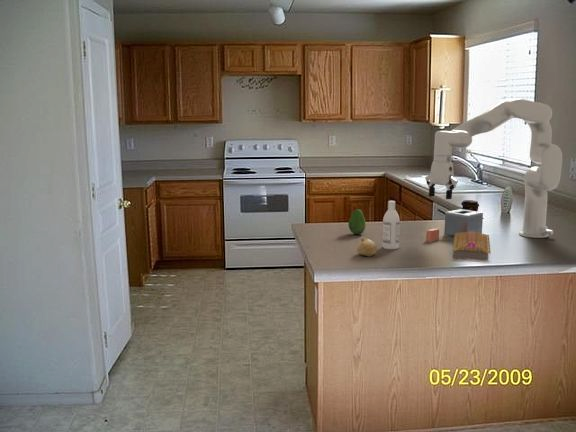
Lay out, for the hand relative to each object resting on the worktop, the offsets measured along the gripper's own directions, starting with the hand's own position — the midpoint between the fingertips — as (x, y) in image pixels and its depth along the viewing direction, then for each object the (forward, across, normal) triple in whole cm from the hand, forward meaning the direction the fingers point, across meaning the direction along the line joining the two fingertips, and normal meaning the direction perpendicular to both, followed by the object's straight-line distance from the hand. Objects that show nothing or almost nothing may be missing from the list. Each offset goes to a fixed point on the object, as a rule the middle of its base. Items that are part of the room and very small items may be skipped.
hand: (440, 197), depth 270 cm
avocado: (+20, +29, +23) cm, 42 cm away
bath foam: (+20, 0, +30) cm, 36 cm away
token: (+19, -1, +5) cm, 19 cm away
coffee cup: (+18, +9, -34) cm, 40 cm away
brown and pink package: (+19, -22, +5) cm, 30 cm away
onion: (+20, -3, +46) cm, 51 cm away
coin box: (+18, -3, -15) cm, 24 cm away
